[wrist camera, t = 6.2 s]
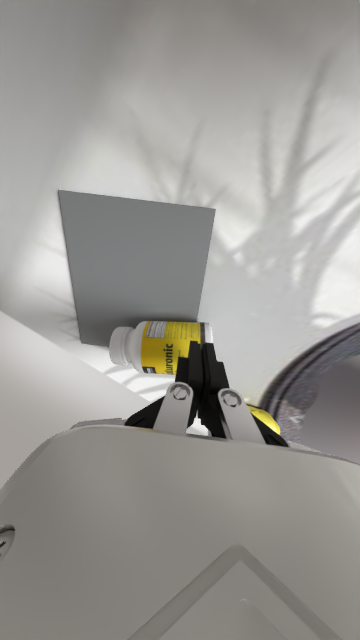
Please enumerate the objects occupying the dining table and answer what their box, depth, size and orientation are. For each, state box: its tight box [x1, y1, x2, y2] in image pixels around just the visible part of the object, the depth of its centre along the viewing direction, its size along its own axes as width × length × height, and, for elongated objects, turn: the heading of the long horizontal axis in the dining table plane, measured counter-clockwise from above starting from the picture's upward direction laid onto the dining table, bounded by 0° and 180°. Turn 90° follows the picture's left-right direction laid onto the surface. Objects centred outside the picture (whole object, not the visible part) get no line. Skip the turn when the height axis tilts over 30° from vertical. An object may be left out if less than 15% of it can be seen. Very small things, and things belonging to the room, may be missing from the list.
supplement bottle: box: [109, 321, 213, 375], centre depth 18 cm, size 5×5×10 cm
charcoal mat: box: [58, 190, 216, 347], centre depth 18 cm, size 14×16×1 cm
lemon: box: [247, 406, 280, 435], centre depth 24 cm, size 4×8×4 cm, turn 62°
